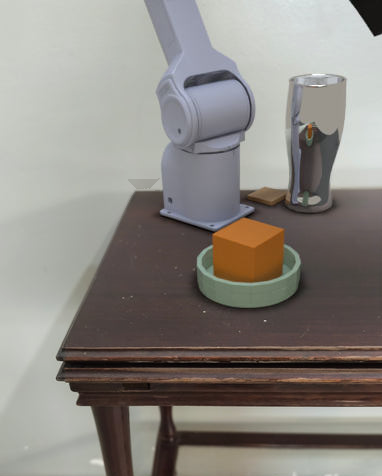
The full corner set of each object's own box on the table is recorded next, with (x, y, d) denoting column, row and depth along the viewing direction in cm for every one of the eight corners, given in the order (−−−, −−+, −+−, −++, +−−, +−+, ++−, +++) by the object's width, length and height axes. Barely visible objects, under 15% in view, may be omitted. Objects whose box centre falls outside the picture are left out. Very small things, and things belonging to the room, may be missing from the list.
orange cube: (213, 279, 58) (211, 234, 55) (243, 261, 61) (243, 217, 58) (253, 294, 55) (254, 247, 52) (282, 274, 58) (284, 229, 55)
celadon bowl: (176, 286, 58) (175, 264, 57) (239, 250, 64) (239, 229, 63) (258, 320, 52) (259, 296, 51) (318, 276, 58) (320, 254, 57)
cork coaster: (246, 199, 76) (247, 195, 76) (264, 190, 79) (264, 186, 78) (271, 206, 74) (271, 201, 74) (288, 196, 77) (289, 192, 76)
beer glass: (330, 193, 77) (342, 71, 68) (340, 213, 71) (354, 84, 63) (278, 195, 77) (283, 74, 69) (284, 215, 71) (290, 87, 63)
